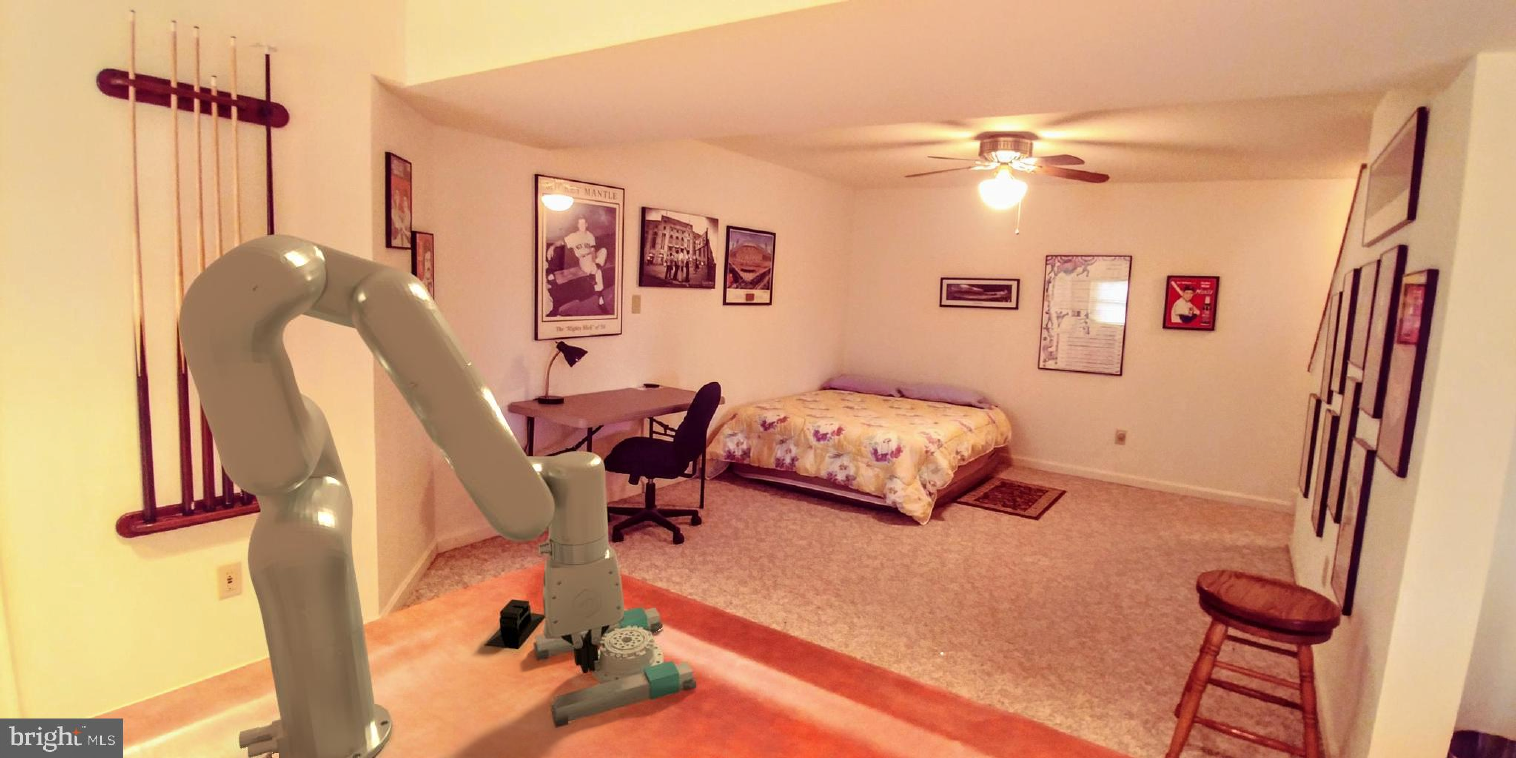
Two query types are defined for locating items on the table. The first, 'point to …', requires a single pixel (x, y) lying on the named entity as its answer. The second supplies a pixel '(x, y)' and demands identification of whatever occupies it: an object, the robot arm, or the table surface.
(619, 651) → the mechanical component
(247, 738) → the robot arm
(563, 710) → the bar rails
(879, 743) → the table surface
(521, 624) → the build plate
